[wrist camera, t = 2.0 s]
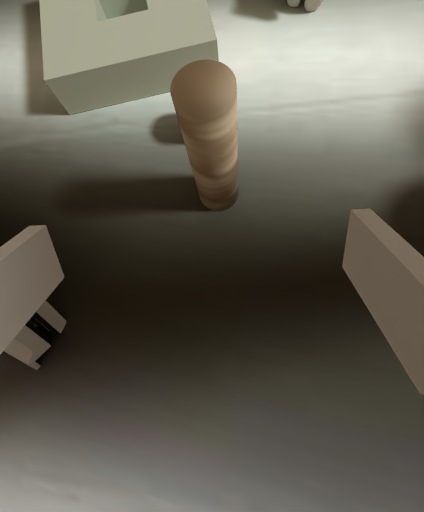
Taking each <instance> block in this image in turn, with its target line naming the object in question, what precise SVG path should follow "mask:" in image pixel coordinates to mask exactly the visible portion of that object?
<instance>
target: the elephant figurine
mask: <svg viewBox="0 0 424 512" xmlns="http://www.w3.org/2000/svg"><path fill="white" fill-rule="evenodd" d="M300 1H301V0H287V3H288V5H289V6H291V7H297V6H298V5H299V3H300ZM323 1H324V0H305V3H304V7H305V9H306V11H308V12H309V11H316V10H317V9H318V7H319V6H320V5H321V4H322V2H323Z"/></svg>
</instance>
